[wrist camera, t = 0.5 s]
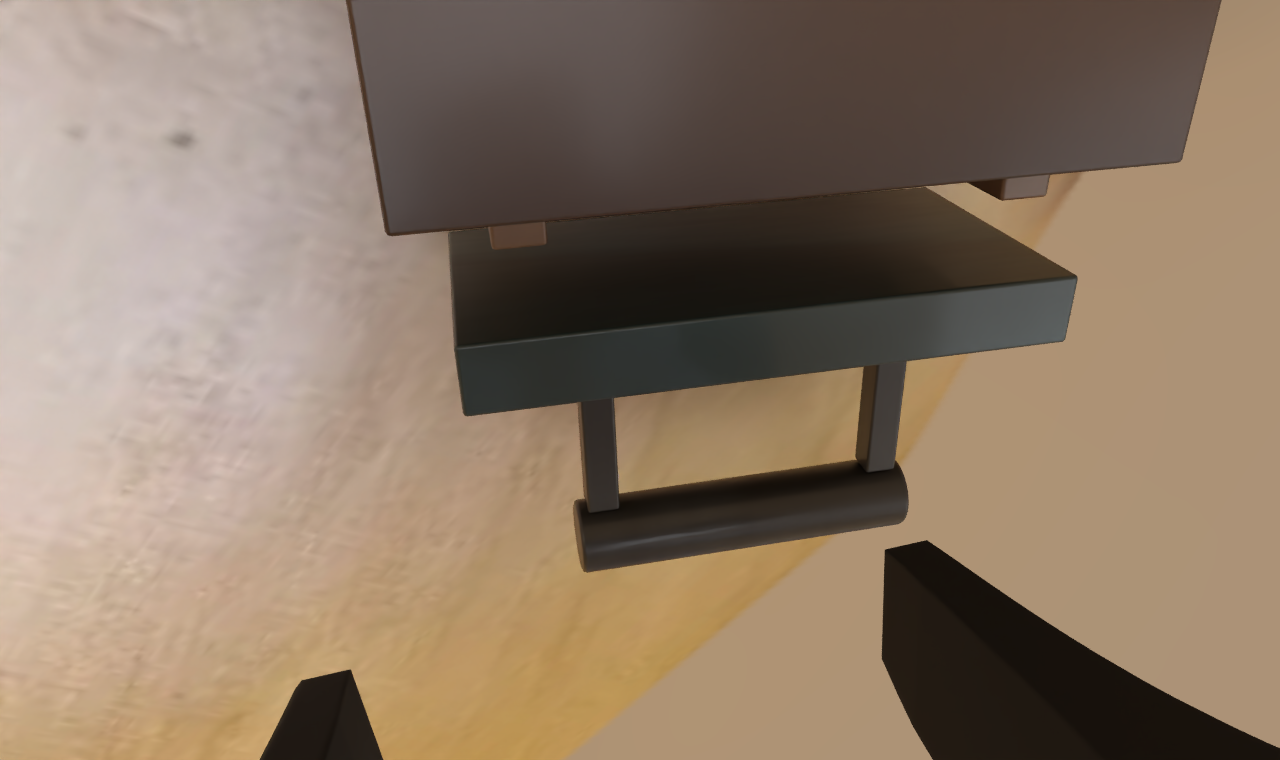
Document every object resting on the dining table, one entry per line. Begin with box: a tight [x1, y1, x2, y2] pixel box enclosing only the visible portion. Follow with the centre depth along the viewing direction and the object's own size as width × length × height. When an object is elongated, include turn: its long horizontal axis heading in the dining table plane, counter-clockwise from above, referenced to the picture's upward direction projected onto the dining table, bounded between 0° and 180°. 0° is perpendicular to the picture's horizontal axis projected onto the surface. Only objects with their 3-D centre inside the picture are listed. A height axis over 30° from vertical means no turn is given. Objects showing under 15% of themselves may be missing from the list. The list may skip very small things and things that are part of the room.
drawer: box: [448, 175, 1077, 573], centre depth 15 cm, size 17×10×5 cm, turn 2°
